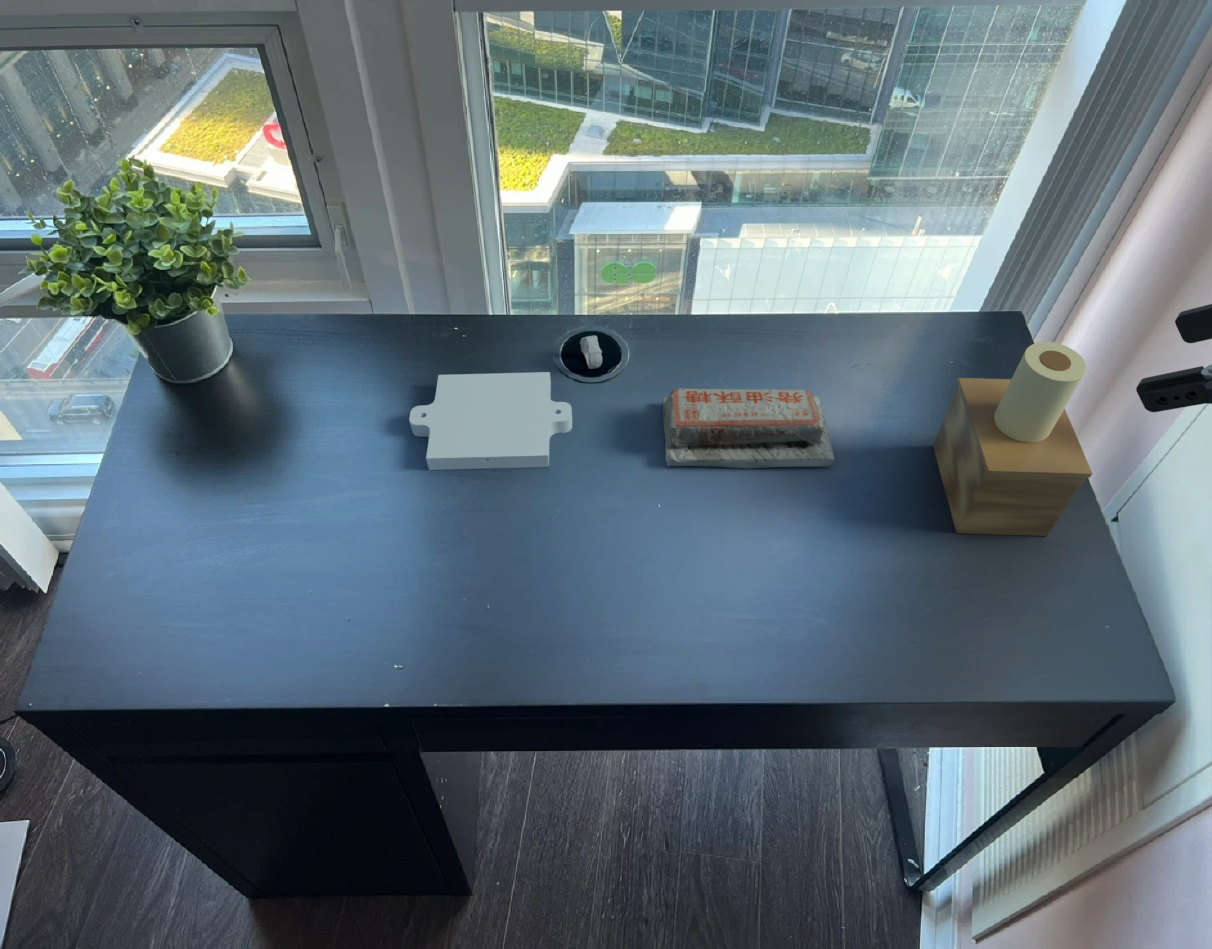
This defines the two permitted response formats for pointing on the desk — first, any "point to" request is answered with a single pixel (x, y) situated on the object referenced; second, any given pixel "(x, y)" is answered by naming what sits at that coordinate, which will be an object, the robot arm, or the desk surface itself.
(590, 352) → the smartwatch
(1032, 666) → the desk surface
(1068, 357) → the toilet paper roll
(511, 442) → the mounting plate
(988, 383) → the oak box
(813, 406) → the packaged product
